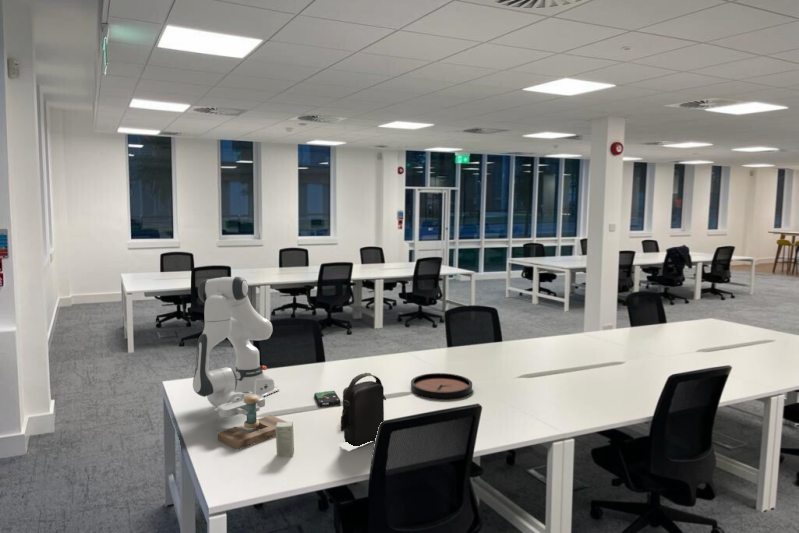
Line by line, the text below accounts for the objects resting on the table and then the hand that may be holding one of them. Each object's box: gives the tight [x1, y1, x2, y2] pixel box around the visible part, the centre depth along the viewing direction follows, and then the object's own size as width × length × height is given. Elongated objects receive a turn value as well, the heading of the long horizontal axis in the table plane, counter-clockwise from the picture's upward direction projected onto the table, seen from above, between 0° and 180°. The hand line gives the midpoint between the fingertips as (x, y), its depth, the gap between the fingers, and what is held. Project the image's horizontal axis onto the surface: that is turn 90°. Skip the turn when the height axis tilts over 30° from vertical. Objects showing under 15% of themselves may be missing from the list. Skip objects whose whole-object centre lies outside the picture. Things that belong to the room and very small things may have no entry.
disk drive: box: [314, 390, 342, 408], centre depth 284 cm, size 10×3×15 cm
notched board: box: [217, 414, 287, 450], centre depth 242 cm, size 26×14×3 cm, turn 139°
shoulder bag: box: [340, 372, 387, 446], centre depth 236 cm, size 23×9×28 cm, turn 134°
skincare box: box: [275, 421, 295, 457], centre depth 224 cm, size 6×4×12 cm
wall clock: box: [410, 372, 473, 401], centre depth 301 cm, size 31×4×31 cm
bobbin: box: [243, 395, 259, 429], centre depth 243 cm, size 6×6×12 cm
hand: (252, 411), depth 242 cm, fingers closed on bobbin, 4 cm apart
